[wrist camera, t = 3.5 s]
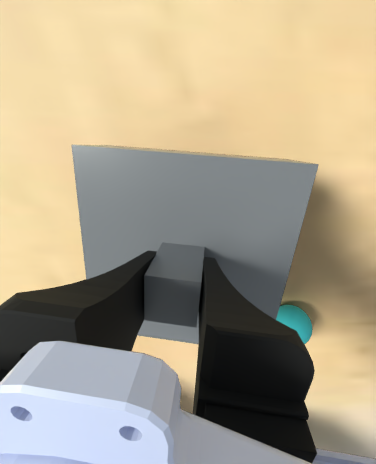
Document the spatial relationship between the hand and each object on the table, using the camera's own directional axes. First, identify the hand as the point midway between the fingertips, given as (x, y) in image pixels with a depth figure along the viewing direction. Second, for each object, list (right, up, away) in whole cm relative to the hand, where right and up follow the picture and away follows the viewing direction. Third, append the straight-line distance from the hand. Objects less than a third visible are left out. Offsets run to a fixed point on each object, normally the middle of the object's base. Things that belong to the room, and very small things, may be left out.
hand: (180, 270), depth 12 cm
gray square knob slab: (+1, +2, +5) cm, 6 cm away
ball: (+11, -7, +11) cm, 17 cm away
